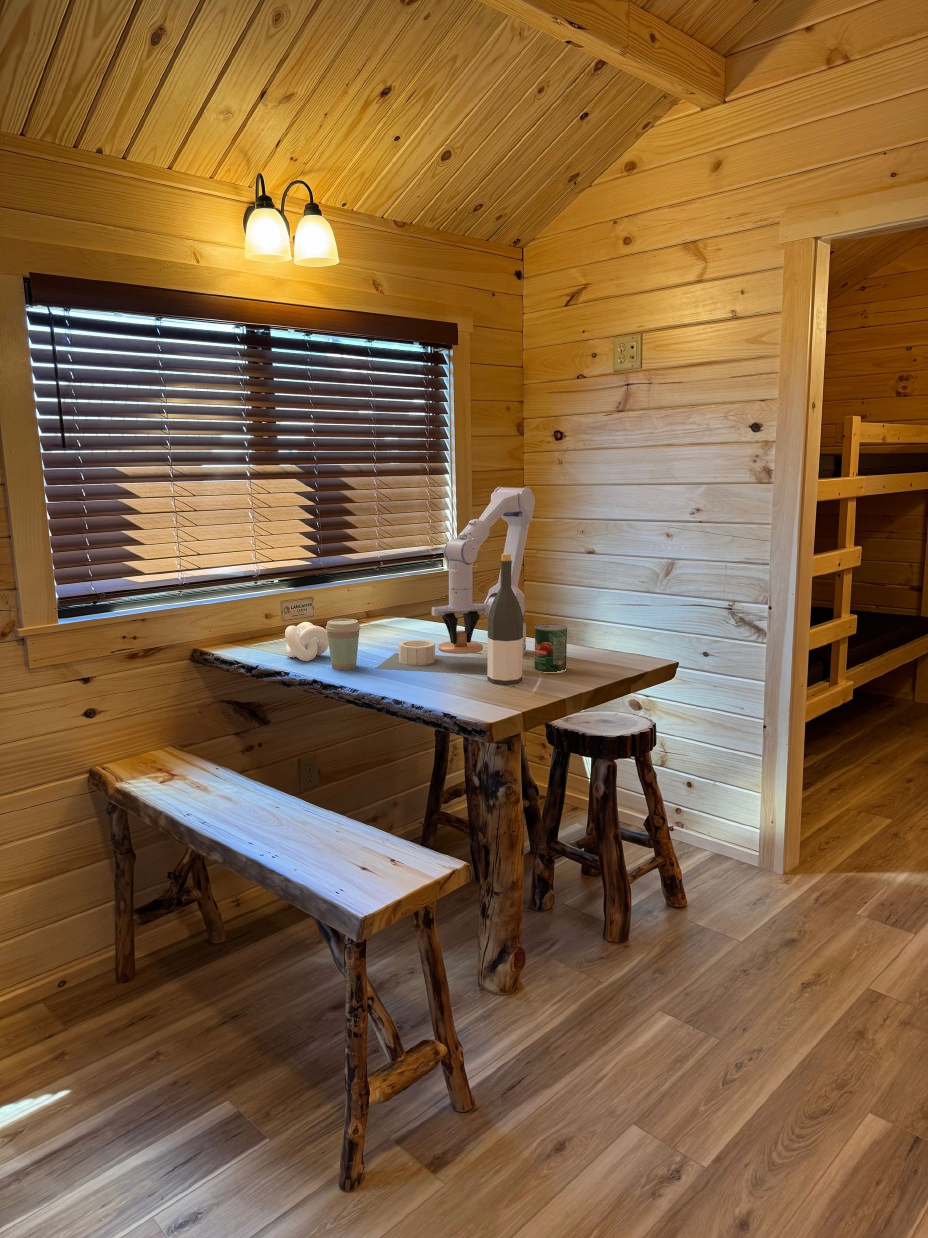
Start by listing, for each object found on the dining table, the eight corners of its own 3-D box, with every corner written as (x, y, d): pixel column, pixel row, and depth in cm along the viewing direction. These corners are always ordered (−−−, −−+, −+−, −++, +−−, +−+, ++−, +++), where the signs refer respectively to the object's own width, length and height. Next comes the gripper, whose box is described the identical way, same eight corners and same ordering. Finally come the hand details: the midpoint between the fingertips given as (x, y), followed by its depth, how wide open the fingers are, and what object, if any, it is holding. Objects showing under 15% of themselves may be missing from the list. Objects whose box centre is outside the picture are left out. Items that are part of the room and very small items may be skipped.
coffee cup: (366, 666, 211) (365, 619, 209) (353, 674, 203) (352, 625, 200) (335, 663, 213) (334, 617, 211) (320, 671, 205) (319, 623, 203)
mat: (499, 660, 217) (499, 658, 217) (486, 676, 200) (486, 674, 200) (395, 655, 223) (394, 653, 222) (374, 670, 206) (374, 668, 206)
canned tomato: (571, 668, 208) (572, 625, 206) (558, 675, 202) (559, 630, 200) (542, 664, 212) (543, 622, 210) (528, 671, 206) (529, 627, 204)
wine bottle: (480, 682, 196) (481, 554, 190) (503, 676, 201) (505, 551, 195) (505, 689, 190) (507, 557, 184) (529, 682, 195) (531, 554, 190)
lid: (486, 645, 212) (486, 628, 211) (478, 654, 201) (478, 637, 201) (444, 643, 214) (444, 626, 213) (433, 652, 204) (433, 635, 203)
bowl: (438, 657, 217) (438, 640, 217) (429, 666, 209) (429, 648, 208) (405, 656, 219) (404, 639, 218) (395, 664, 211) (394, 646, 210)
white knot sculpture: (313, 665, 211) (312, 630, 210) (272, 661, 215) (270, 627, 213) (334, 655, 222) (333, 622, 220) (294, 652, 226) (293, 619, 224)
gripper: (481, 584, 211) (481, 636, 214) (427, 587, 206) (427, 641, 208) (492, 588, 205) (492, 642, 208) (437, 591, 199) (437, 647, 202)
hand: (460, 642), depth 208 cm, fingers closed on lid, 3 cm apart
